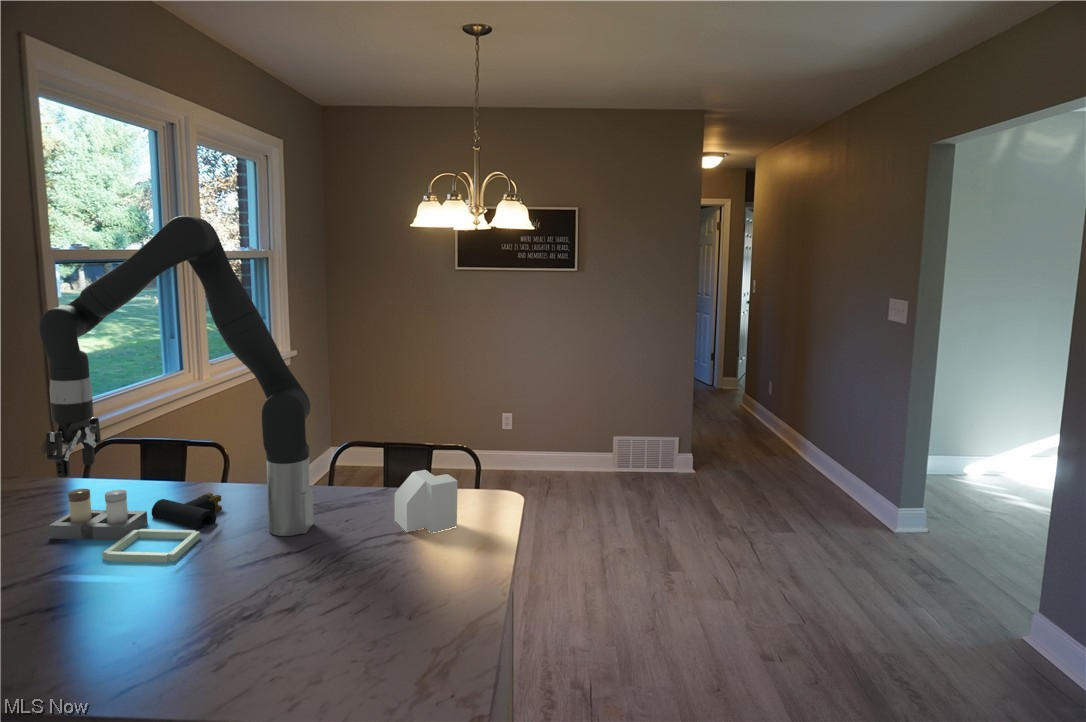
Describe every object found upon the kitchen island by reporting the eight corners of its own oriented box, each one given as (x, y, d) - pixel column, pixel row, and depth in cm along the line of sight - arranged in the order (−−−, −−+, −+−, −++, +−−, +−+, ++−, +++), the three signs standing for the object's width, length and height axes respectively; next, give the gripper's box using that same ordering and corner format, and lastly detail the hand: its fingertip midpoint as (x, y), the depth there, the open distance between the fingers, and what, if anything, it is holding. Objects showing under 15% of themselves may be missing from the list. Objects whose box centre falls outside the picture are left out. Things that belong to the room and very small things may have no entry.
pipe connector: (192, 486, 171) (237, 497, 165) (194, 506, 172) (238, 517, 166) (150, 502, 161) (197, 514, 155) (152, 523, 162) (198, 536, 156)
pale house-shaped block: (456, 528, 164) (457, 480, 162) (412, 538, 158) (412, 488, 156) (437, 513, 173) (437, 467, 171) (394, 522, 167) (394, 474, 164)
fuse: (132, 527, 156) (130, 489, 154) (122, 535, 152) (119, 496, 150) (114, 527, 156) (111, 489, 154) (103, 534, 152) (100, 496, 150)
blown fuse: (97, 526, 155) (94, 488, 154) (85, 534, 151) (82, 495, 150) (78, 526, 155) (75, 488, 154) (66, 533, 151) (63, 495, 150)
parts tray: (201, 541, 153) (201, 530, 152) (173, 567, 140) (172, 555, 140) (135, 539, 152) (135, 528, 152) (101, 565, 140) (100, 553, 140)
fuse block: (147, 527, 158) (146, 511, 158) (125, 544, 149) (123, 527, 149) (77, 525, 158) (75, 509, 157) (50, 542, 149) (48, 525, 148)
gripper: (67, 406, 141) (72, 482, 144) (109, 392, 155) (113, 460, 158) (30, 405, 141) (36, 480, 144) (75, 390, 155) (80, 459, 158)
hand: (76, 470), depth 151 cm, fingers open, 8 cm apart
